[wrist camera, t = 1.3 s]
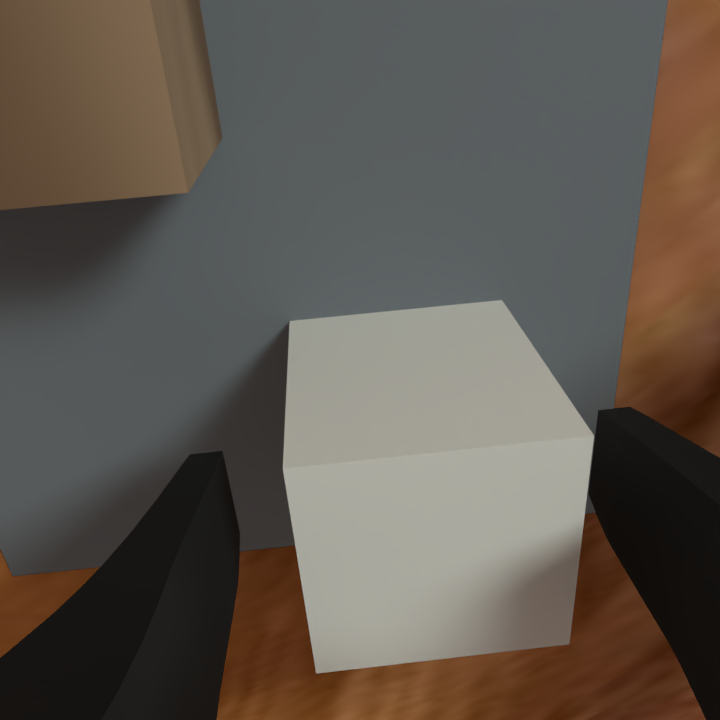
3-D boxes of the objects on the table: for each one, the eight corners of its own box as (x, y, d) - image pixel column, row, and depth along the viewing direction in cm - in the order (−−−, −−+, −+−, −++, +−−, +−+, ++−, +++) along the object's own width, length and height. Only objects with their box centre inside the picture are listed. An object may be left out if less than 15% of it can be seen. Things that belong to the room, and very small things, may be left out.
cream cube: (501, 299, 14) (593, 436, 9) (496, 469, 16) (569, 644, 12) (289, 321, 14) (282, 468, 9) (312, 489, 16) (315, 673, 11)
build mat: (800, -1146, 7) (828, -1208, 6) (593, 501, 17) (600, 512, 17) (-717, -1096, 6) (-777, -1161, 6) (19, 564, 17) (12, 576, 16)
